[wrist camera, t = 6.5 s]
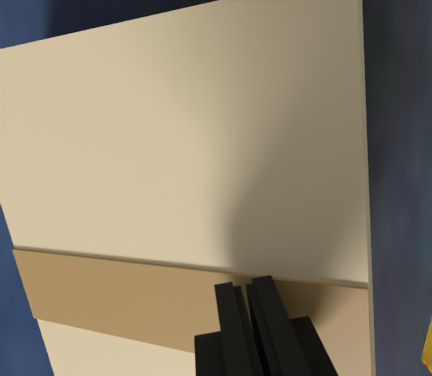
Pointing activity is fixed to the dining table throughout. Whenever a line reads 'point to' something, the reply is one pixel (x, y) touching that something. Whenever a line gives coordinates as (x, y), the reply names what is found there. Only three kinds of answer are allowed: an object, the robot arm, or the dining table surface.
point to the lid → (189, 180)
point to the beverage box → (428, 349)
